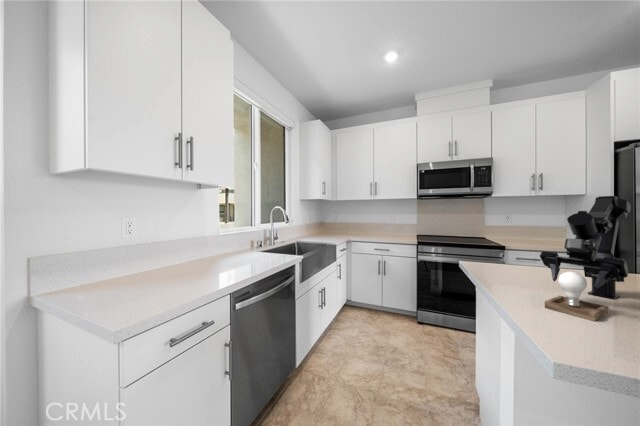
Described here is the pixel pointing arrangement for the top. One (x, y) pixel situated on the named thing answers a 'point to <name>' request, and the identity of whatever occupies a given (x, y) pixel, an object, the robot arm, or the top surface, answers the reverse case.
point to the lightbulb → (572, 286)
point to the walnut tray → (577, 308)
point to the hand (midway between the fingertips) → (573, 284)
